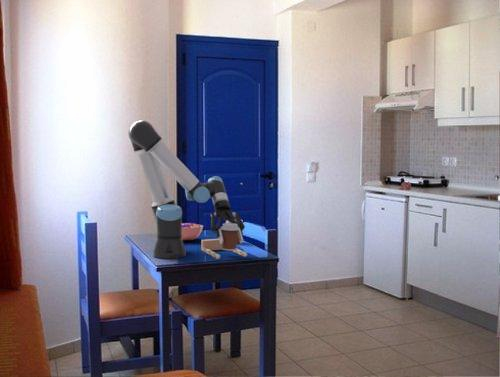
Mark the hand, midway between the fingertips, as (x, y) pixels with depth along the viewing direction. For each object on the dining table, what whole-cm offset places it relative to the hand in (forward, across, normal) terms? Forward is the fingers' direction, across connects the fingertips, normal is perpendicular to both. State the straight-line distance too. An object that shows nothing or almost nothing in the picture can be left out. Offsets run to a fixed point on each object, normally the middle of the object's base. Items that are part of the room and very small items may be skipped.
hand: (231, 241), depth 273 cm
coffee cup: (+1, 0, -5) cm, 5 cm away
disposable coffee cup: (-19, -15, -29) cm, 38 cm away
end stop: (-9, 0, -20) cm, 22 cm away
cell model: (-30, +8, -41) cm, 52 cm away
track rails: (-1, 0, -12) cm, 12 cm away
